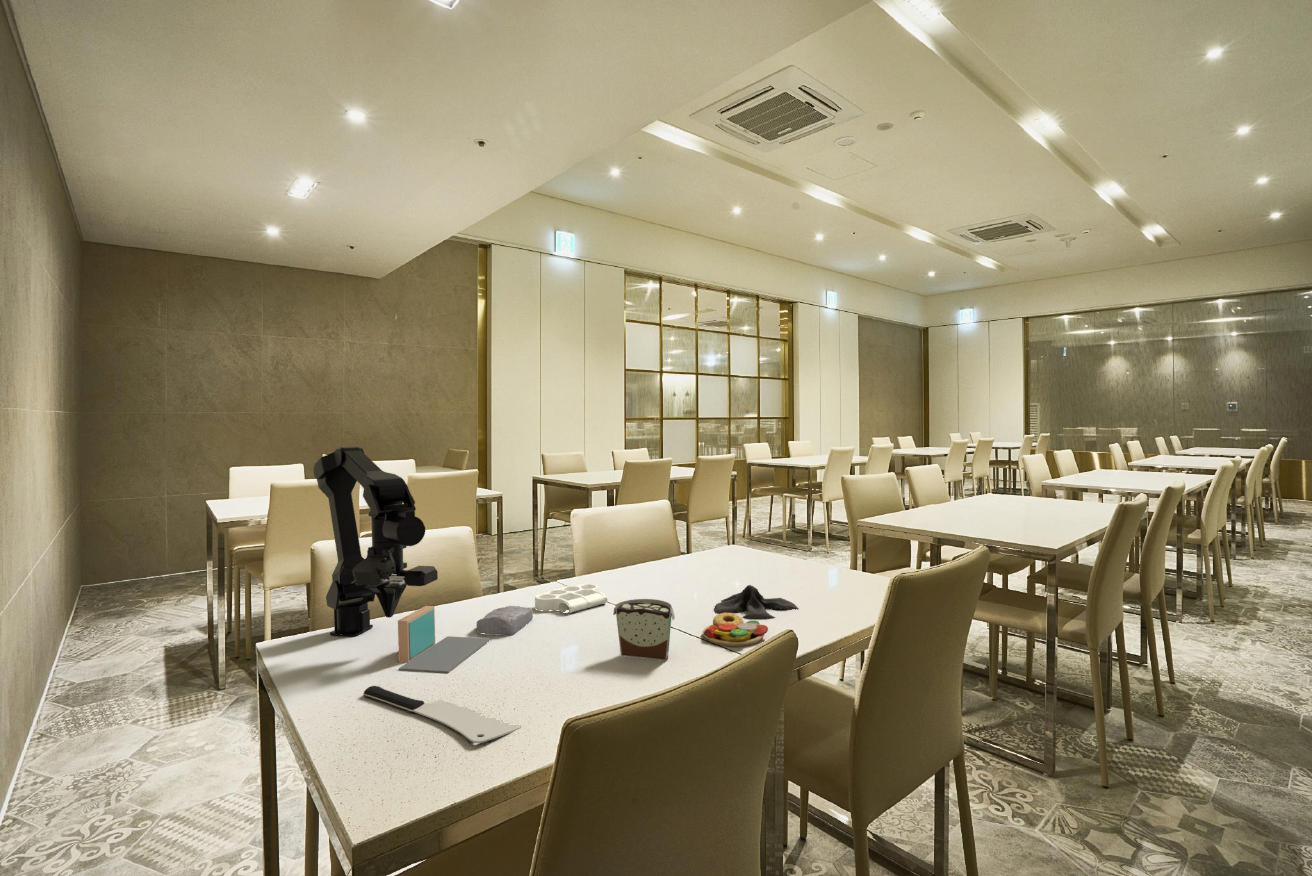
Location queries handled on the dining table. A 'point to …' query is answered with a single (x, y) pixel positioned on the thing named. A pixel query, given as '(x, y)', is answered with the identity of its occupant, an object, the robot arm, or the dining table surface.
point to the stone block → (505, 620)
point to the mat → (445, 654)
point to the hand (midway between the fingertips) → (389, 617)
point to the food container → (644, 628)
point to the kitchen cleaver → (446, 715)
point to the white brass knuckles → (570, 598)
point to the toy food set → (734, 631)
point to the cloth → (752, 604)
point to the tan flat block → (416, 633)
